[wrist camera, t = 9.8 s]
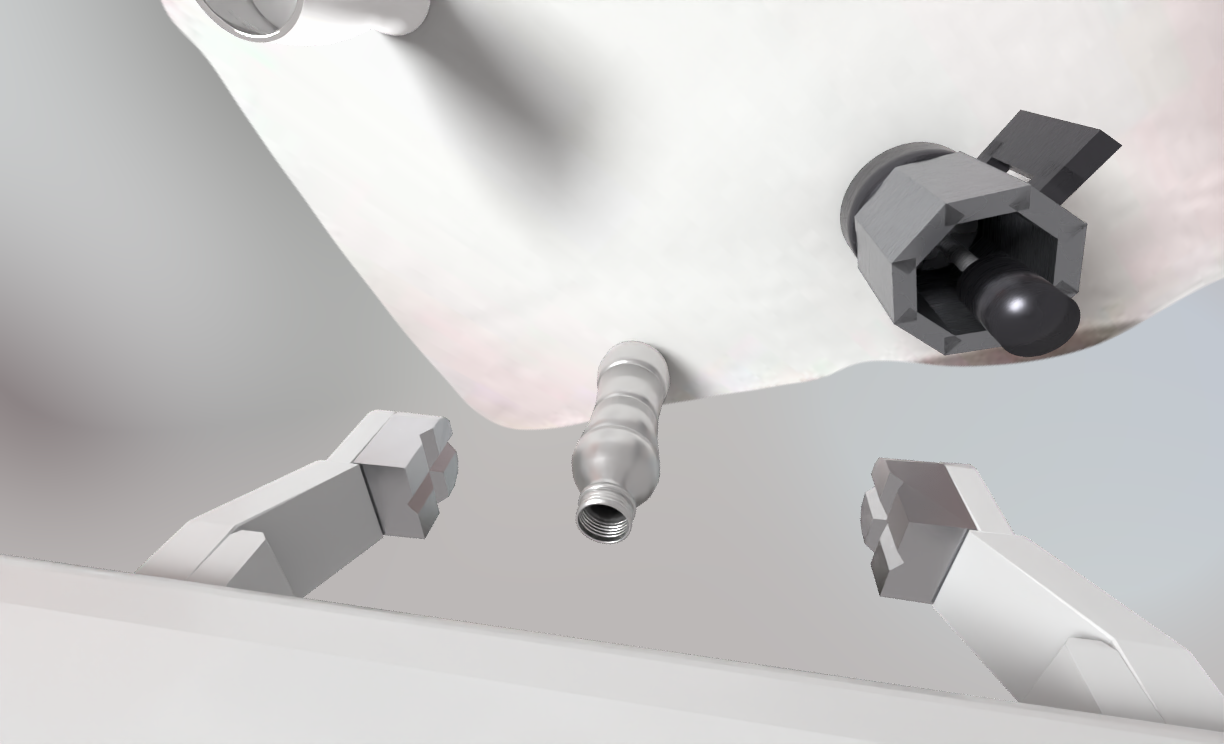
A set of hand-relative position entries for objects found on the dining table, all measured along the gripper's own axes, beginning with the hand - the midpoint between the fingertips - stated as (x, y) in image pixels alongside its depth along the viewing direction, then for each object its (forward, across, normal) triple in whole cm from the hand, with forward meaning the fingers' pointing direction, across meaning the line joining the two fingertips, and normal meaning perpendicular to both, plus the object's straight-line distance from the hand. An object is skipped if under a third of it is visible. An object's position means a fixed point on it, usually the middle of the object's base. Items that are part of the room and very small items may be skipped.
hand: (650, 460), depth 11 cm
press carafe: (+37, -16, +3) cm, 40 cm away
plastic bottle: (+36, +4, +20) cm, 42 cm away
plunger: (+31, -16, +5) cm, 35 cm away
